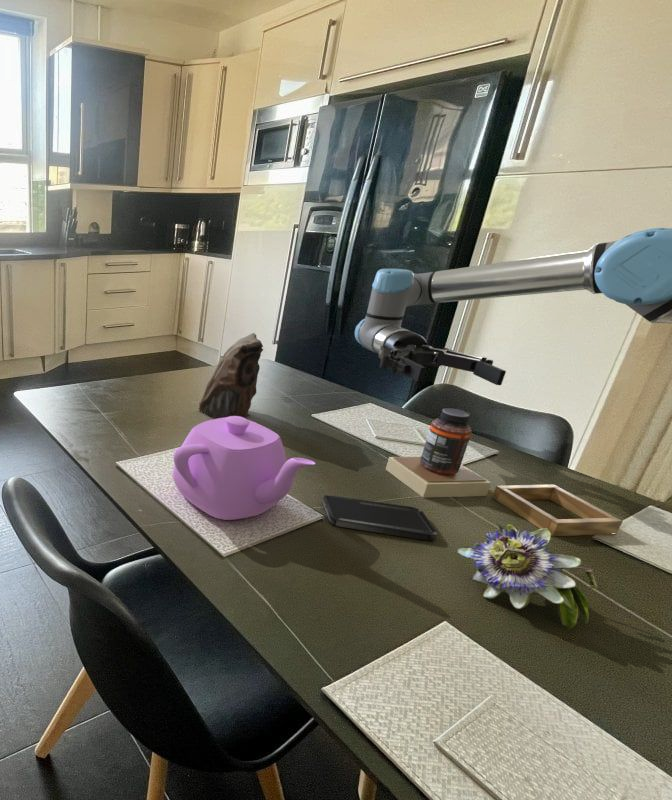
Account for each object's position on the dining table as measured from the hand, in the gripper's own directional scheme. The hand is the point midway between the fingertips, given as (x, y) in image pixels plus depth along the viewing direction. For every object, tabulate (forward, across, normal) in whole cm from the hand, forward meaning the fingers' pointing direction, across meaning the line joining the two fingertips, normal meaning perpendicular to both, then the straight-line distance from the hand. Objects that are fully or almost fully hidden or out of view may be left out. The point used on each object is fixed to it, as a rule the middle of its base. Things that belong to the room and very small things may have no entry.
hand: (461, 376), depth 88 cm
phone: (+19, +19, -20) cm, 33 cm away
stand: (+5, +2, -20) cm, 20 cm away
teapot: (+16, +42, -20) cm, 49 cm away
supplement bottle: (+5, +2, -17) cm, 17 cm away
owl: (-23, +36, -19) cm, 46 cm away
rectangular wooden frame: (+14, -12, -20) cm, 26 cm away
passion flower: (+34, +8, -20) cm, 40 cm away
